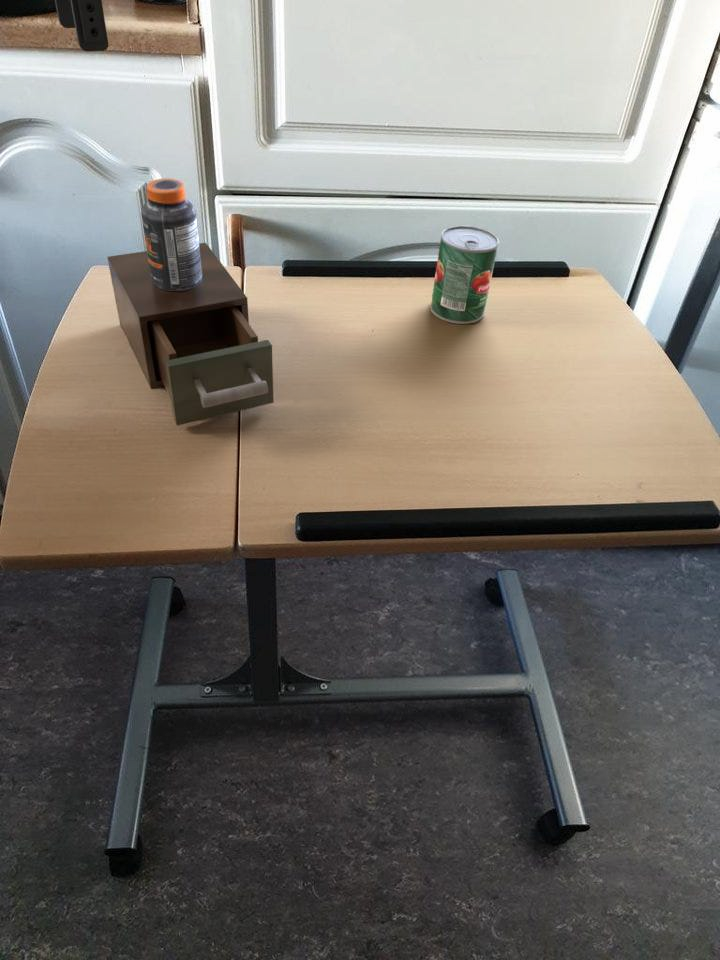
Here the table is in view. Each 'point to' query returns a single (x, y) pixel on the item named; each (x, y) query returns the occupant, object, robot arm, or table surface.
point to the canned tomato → (463, 274)
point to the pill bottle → (171, 236)
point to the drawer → (211, 363)
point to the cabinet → (166, 300)
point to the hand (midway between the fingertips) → (83, 38)
